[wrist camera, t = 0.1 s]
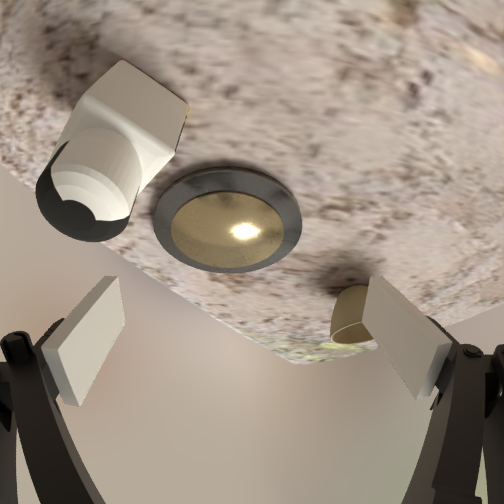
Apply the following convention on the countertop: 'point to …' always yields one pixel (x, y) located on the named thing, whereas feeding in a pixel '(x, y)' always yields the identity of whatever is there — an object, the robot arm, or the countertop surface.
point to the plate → (227, 220)
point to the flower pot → (350, 317)
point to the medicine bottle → (109, 153)
